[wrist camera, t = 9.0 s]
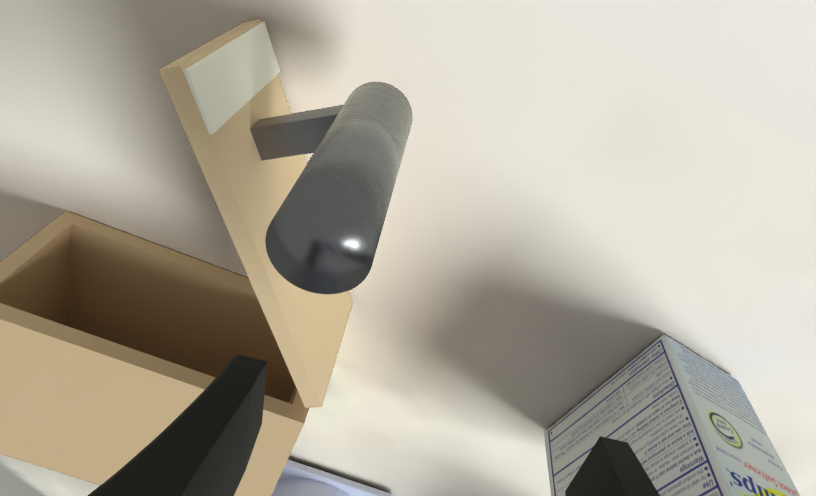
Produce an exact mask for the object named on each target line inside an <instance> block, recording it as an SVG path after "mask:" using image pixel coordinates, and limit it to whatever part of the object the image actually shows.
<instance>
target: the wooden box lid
mask: <svg viewBox="0 0 816 496" xmlns="http://www.w3.org/2000/svg"><path fill="white" fill-rule="evenodd" d="M158 71H159V73H160V76H161V78H162V80H163V83H164V85H165V87H166V90H167V92H168V94H169V96H170V99H171V101H172V103H173V106H174V108H175V110H176V112H177V115H178V117H179V119H180V122H181V124H182V126H183V129H184V131H185V133H186V135H187V138H188V140H189V142H190V145H191V147H192V149H193V151H194V154H195V156H196V158H197V161H198V163H199V165H200V168H201V170H202V172H203V174H204V177H205V179H206V181H207V184H208V186H209V188H210V190H211V193H212V195H213V197H214V200H215V202H216V204H217V207H218V209H219V211H220V213H221V216H222V218H223V220H224V223H225V225H226V227H227V229H228V232H229V234H230V236H231V239H232V241H233V243H234V246H235V248H236V250H237V252H238V255H239V257H240V259H241V262H242V264H243V266H244V268H245V271H246V273H247V275H248V278H249V280H250V282H251V285H252V287H253V289H254V291H255V294H256V296H257V298H258V301H259V303H260V305H261V307H262V310H263V312H264V314H265V317H266V319H267V321H268V324H269V326H270V328H271V330H272V333H273V335H274V337H275V340H276V342H277V344H278V346H279V349H280V351H281V353H282V356H283V358H284V360H285V363H286V365H287V367H288V369H289V372H290V374H291V376H292V379H293V381H294V383H295V385H296V388H297V390H298V392H299V395H300V397H301V399H302V402H303V404H304V406H305V408H311V407H322V404H323V401H324V398H325V394H326V391H327V388H328V384H329V381H330V378H331V374H332V371H333V368H334V365H335V361H336V358H337V355H338V351H339V348H340V345H341V341H342V338H343V335H344V331H345V328H346V325H347V321H348V318H349V315H350V312H351V308H352V305H353V303H352V300H351V297H350V294H349V291H348V290H351V289H353V288H354V287H356V286H358V285H359V284H360V283H361V282H362V281H363V280H364V279H365V278H366V276H367V275H368V273H369V271H370V269H371V266H372V263H373V259H374V256H375V252H376V248H377V245H378V241H379V238H380V234H381V231H382V227H383V224H384V220H385V217H386V213H387V210H388V206H389V202H390V199H391V195H392V192H393V188H394V185H395V181H396V178H397V174H398V171H399V167H400V164H401V160H402V156H403V153H404V149H405V146H406V142H407V139H408V135H409V132H410V128H411V125H412V110H411V106H410V104H409V102H408V100H407V98H406V97H405V96H404V94H403V93H402V92H401V91H400V90H398V89H397V88H395V87H394V86H392V85H390V84H387V83H383V82H370V83H366V84H363V85H361V86H359V87H358V88H356V89H355V90H354V91H353V92H352V93H351V95H350V96H349V97H348V99H347V101H346V102H345V104H344V105H340V106H334V107H328V108H322V109H316V110H311V111H305V112H299V113H293V114H291V112H290V108H289V105H288V102H287V99H286V96H285V93H284V90H283V87H282V84H281V81H280V78H279V73H280V72H281V71H280V68H279V65H278V62H277V59H276V56H275V53H274V50H273V47H272V43H271V40H270V37H269V34H268V31H267V28H266V25H265V22H261V19H257V20H252V21H248V22H243V23H241V24H239V25H238V26H236V27H234V28H232V29H231V30H229V31H227V32H225V33H223V34H222V35H220V36H218V37H216V38H215V39H213V40H211V41H209V42H207V43H206V44H204V45H202V46H200V47H199V48H197V49H195V50H193V51H191V52H190V53H188V54H186V55H184V56H183V57H181V58H179V59H177V60H175V61H174V62H172V63H170V64H168V65H167V66H165V67H163V68H161V69H159V70H158ZM308 153H314V154H313V155H312V157H311V158H310V160H309V162H308V163H307V161H306V158H305V155H304V154H308Z"/></svg>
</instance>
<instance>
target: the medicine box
mask: <svg viewBox="0 0 816 496" xmlns="http://www.w3.org/2000/svg"><path fill="white" fill-rule="evenodd" d="M600 436H601V437H606V438H610V439H615V440H619V441H623V442H628V443H629V445H630V447H631V448H632V450H633V452H634V453H635V455H636V457H637V458H638V460H639V461H640V463H641V465H642V467H643V468H644V470H645V472H646V473H647V475H648V477H649V478H650V480H651V482H652V483H653V485H654V487H655V488H656V490H657V492H658V493H659V495H660V496H800V494H799V493H798V491H797V489H796V487H795V486H794V484H793V482H792V480H791V478H790V476H789V474H788V472H787V471H786V469H785V467H784V465H783V463H782V461H781V459H780V458H779V456H778V454H777V452H776V450H775V448H774V446H773V445H772V443H771V441H770V439H769V437H768V435H767V433H766V431H765V429H764V427H763V426H762V424H761V422H760V420H759V418H758V416H757V415H756V413H755V411H754V409H753V407H752V405H751V403H750V401H749V400H748V398H747V396H746V394H745V392H744V390H743V389H742V387H741V385H740V383H739V382H738V381H737V380H736V379H735V378H733V377H731V376H730V375H729V374H727V373H725V372H724V371H722V370H721V369H719V368H717V367H716V366H715V365H713V364H712V363H710V362H708V361H707V360H705V359H704V358H702V357H700V356H698V355H697V354H695V353H694V352H692V351H690V350H689V349H687V348H686V347H684V346H683V345H681V344H680V343H678V342H676V341H675V340H673V339H671V338H670V337H668V336H667V335H662V336H661V337H660V338H658V339H657V340H656V341H655V342H654V343H652V344H651V345H650V346H649V347H648V348H646V349H645V350H644V351H643V352H642V353H640V354H639V355H638V356H637V357H636V358H634V359H633V360H632V361H631V362H629V363H628V364H627V365H626V366H624V367H623V368H622V369H621V370H620V371H618V372H617V373H616V374H615V375H613V376H612V377H611V378H610V379H609V380H607V381H606V382H605V383H604V384H602V385H601V386H600V387H599V388H598V389H596V390H595V391H594V392H593V393H592V394H590V395H589V396H588V397H587V398H586V399H584V400H583V401H582V402H581V403H579V404H578V405H577V406H576V407H575V408H573V409H572V410H571V411H570V412H568V413H567V414H566V415H565V416H564V417H562V418H561V419H560V420H559V421H558V422H556V423H555V424H554V425H553V426H551V427H550V428H548V429H547V430H546V431H545V432H544V437H545V446H546V454H547V463H548V472H549V480H550V489H551V496H565V491H566V489H567V488H568V486H569V484H570V483H571V481H572V480H573V478H574V477H575V475H576V473H577V472H578V470H579V469H580V467H581V466H582V464H583V462H584V461H585V459H586V458H587V456H588V455H589V453H590V451H591V450H592V448H593V447H594V445H595V444H596V442H597V440H598V439H599V437H600Z"/></svg>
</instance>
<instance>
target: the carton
mask: <svg viewBox="0 0 816 496" xmlns="http://www.w3.org/2000/svg"><path fill="white" fill-rule="evenodd" d="M237 355H242V356H247V357H251V358H256V359H260V360H264V361H267V371H266V382H265V394H264V406H263V417H262V425H261V428H260V431H259V434H258V436H257V439H256V442H255V445H254V448H253V451H252V454H251V457H250V459H249V462H248V465H247V468H246V471H245V473H244V475H243V477H242V479H241V481H240V484H239V486H238V488H237V490H236V492H235V494H234V496H271V495H272V493H273V491H274V489H275V486H276V484H277V482H278V480H279V478H280V475H281V473H282V471H283V469H284V467H285V464H286V462H287V460H288V458H289V456H290V453H291V451H292V449H293V447H294V444H295V442H296V440H297V438H298V436H299V433H300V431H301V429H302V427H303V425H304V422H305V419H306V416H307V413H308V410H309V408H305V406H304V404H303V402H302V399H301V397H300V395H299V392H298V390H297V388H296V385H295V383H294V381H293V379H292V376H291V374H290V372H289V369H288V367H287V365H286V363H285V360H284V358H283V356H282V353H281V351H280V349H279V346H278V344H277V342H276V340H275V337H274V335H273V333H272V330H271V328H270V326H269V324H268V321H267V319H266V317H265V314H264V312H263V310H262V307H261V305H260V303H259V301H258V298H257V296H256V294H255V291H254V289H253V287H252V285H251V282H250V280H249V278H246V277H243V276H241V275H238V274H235V273H233V272H230V271H227V270H225V269H222V268H219V267H216V266H214V265H211V264H208V263H206V262H203V261H200V260H198V259H195V258H192V257H190V256H187V255H184V254H181V253H179V252H176V251H173V250H171V249H168V248H165V247H163V246H160V245H157V244H155V243H152V242H149V241H147V240H144V239H141V238H138V237H136V236H133V235H130V234H128V233H125V232H122V231H120V230H117V229H114V228H112V227H109V226H106V225H103V224H101V223H98V222H95V221H93V220H90V219H87V218H85V217H82V216H79V215H77V214H74V213H71V212H68V211H65V212H64V213H63V214H61V215H60V216H59V217H57V218H56V219H55V220H54V221H52V222H51V223H50V224H48V225H47V226H46V227H45V228H43V229H42V230H41V231H39V232H38V233H37V234H36V235H34V236H33V237H32V238H30V239H29V240H28V241H27V242H25V243H24V244H23V245H21V246H20V247H19V248H18V249H16V250H15V251H14V252H12V253H11V254H10V255H9V256H7V257H6V258H5V259H3V260H2V261H1V262H0V454H3V455H6V456H9V457H12V458H15V459H18V460H22V461H25V462H28V463H31V464H34V465H38V466H41V467H44V468H47V469H50V470H53V471H57V472H60V473H63V474H66V475H69V476H72V477H76V478H79V479H82V480H85V481H88V482H92V483H95V484H98V485H102V484H103V483H104V482H105V481H107V480H108V479H109V478H110V477H111V476H113V475H114V474H115V473H116V472H117V471H119V470H120V469H121V468H122V467H123V466H124V465H126V464H127V463H128V462H129V461H130V460H131V459H132V458H134V457H135V456H136V455H137V454H138V453H139V452H140V451H142V450H143V449H144V448H145V447H146V446H147V445H148V444H149V443H151V442H152V441H153V440H154V439H155V438H156V437H157V436H158V435H159V434H161V433H162V432H163V431H164V430H165V429H166V428H167V427H168V426H169V425H170V424H171V423H172V422H173V421H174V420H175V419H176V418H177V417H178V416H179V415H180V414H181V413H182V412H183V411H184V410H185V409H186V408H187V407H188V406H189V405H190V404H191V403H192V402H193V401H194V400H195V399H196V398H197V397H198V396H199V395H200V394H201V393H202V392H203V391H204V390H205V389H206V388H207V387H208V386H209V385H210V384H211V382H212V381H213V380H214V379H215V378H216V377H217V376H218V375H219V374H220V372H221V371H222V370H223V369H224V368H225V367H226V366H227V364H228V363H229V362H230V361H231V360H232V358H233V357H235V356H237Z"/></svg>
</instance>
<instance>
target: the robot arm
mask: <svg viewBox="0 0 816 496" xmlns="http://www.w3.org/2000/svg"><path fill="white" fill-rule="evenodd" d="M266 371H267V361H264V360H260V359H256V358H251V357H247V356H242V355H237V356H235V357H233V358H232V360H231V361H230V362H229V363H228V364H227V366H226V367H225V368H224V369H223V370H222V371H221V372H220V374H219V375H218V376H217V377H216V378H215V379H214V380H213V381H212V382H211V384H210V385H209V386H208V387H207V388H206V389H205V390H204V391H203V392H202V393H201V394H200V395H199V396H198V397H197V398H196V399H195V400H194V401H193V402H192V403H191V404H190V405H189V406H188V407H187V408H186V409H185V410H184V411H183V412H182V413H181V414H180V415H179V416H178V417H177V418H176V419H175V420H174V421H173V422H172V423H171V424H170V425H169V426H168V427H167V428H166V429H165V430H164V431H163V432H162V433H161V434H159V435H158V436H157V437H156V438H155V439H154V440H153V441H152V442H151V443H149V444H148V445H147V446H146V447H145V448H144V449H143V450H142V451H140V452H139V453H138V454H137V455H136V456H135V457H134V458H132V459H131V460H130V461H129V462H128V463H127V464H126V465H124V466H123V467H122V468H121V469H120V470H119V471H117V472H116V473H115V474H114V475H113V476H111V477H110V478H109V479H108V480H107V481H105V482H104V483H103V484H102V485H100V486H99V487H98V488H97V489H95V490H94V491H93V492H92V493H90V494H89V495H88V496H234V494H235V492H236V490H237V488H238V486H239V484H240V481H241V479H242V477H243V475H244V473H245V471H246V468H247V465H248V462H249V459H250V457H251V454H252V451H253V448H254V445H255V442H256V439H257V436H258V434H259V431H260V428H261V425H262V417H263V406H264V394H265V382H266ZM271 496H393V495H392V494H390V493H387V492H384V491H381V490H378V489H375V488H372V487H369V486H366V485H363V484H360V483H357V482H354V481H351V480H348V479H345V478H342V477H339V476H336V475H333V474H330V473H327V472H324V471H321V470H318V469H315V468H312V467H309V466H306V465H303V464H300V463H297V462H294V461H291V460H287V462H286V464H285V467H284V469H283V471H282V473H281V475H280V478H279V480H278V482H277V484H276V486H275V489H274V491H273V493H272V495H271ZM565 496H660V495H659V493H658V492H657V490H656V488H655V487H654V485H653V483H652V482H651V480H650V478H649V477H648V475H647V473H646V472H645V470H644V468H643V467H642V465H641V463H640V461H639V460H638V458H637V457H636V455H635V453H634V452H633V450H632V448H631V447H630V445H629V443H628V442H623V441H619V440H615V439H610V438H606V437H601V436H600V437H599V439H598V440H597V442H596V444H595V445H594V447H593V448H592V450H591V451H590V453H589V455H588V456H587V458H586V459H585V461H584V462H583V464H582V466H581V467H580V469H579V470H578V472H577V473H576V475H575V477H574V478H573V480H572V481H571V483H570V484H569V486H568V488H567V489H566V491H565Z"/></svg>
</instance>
